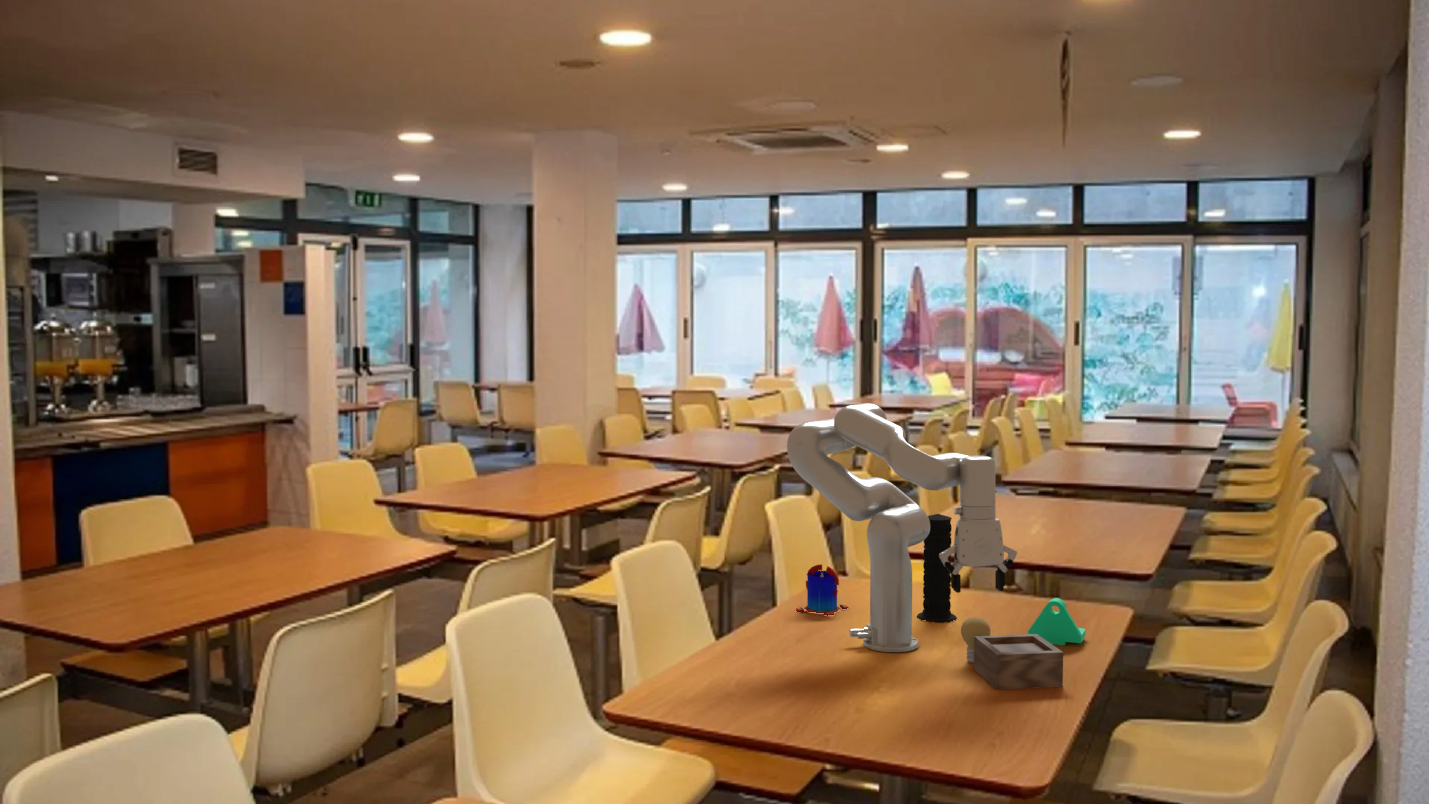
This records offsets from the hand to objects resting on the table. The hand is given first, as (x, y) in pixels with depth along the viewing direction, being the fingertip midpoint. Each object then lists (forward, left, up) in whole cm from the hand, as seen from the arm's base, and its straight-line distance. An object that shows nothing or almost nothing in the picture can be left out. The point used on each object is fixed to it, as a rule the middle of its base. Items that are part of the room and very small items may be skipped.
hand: (978, 590), depth 261 cm
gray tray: (+5, -12, -16) cm, 20 cm away
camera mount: (+24, +15, -17) cm, 33 cm away
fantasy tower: (-24, +50, -16) cm, 58 cm away
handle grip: (+3, +38, -16) cm, 42 cm away
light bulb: (0, 0, -16) cm, 16 cm away
